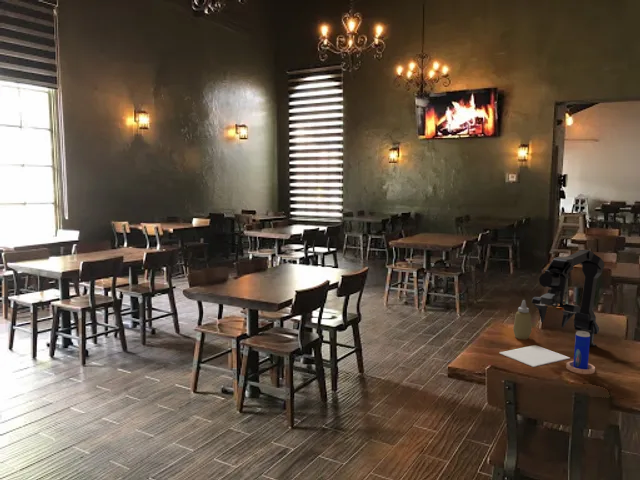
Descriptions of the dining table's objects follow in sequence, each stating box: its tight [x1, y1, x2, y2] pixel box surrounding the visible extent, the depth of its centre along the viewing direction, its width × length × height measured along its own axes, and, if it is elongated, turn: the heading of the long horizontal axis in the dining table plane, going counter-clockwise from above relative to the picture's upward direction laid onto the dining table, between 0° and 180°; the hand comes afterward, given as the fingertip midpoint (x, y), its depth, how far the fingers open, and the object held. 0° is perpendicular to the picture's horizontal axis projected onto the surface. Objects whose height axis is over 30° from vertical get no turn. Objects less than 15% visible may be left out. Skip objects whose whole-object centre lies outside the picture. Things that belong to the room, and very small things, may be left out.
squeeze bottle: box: [512, 299, 532, 340], centre depth 248 cm, size 8×8×18 cm
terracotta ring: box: [565, 360, 596, 375], centre depth 210 cm, size 10×10×2 cm
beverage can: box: [572, 330, 590, 369], centre depth 209 cm, size 5×5×15 cm
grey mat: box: [498, 344, 571, 368], centre depth 225 cm, size 22×18×1 cm
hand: (552, 324), depth 222 cm, fingers open, 9 cm apart
